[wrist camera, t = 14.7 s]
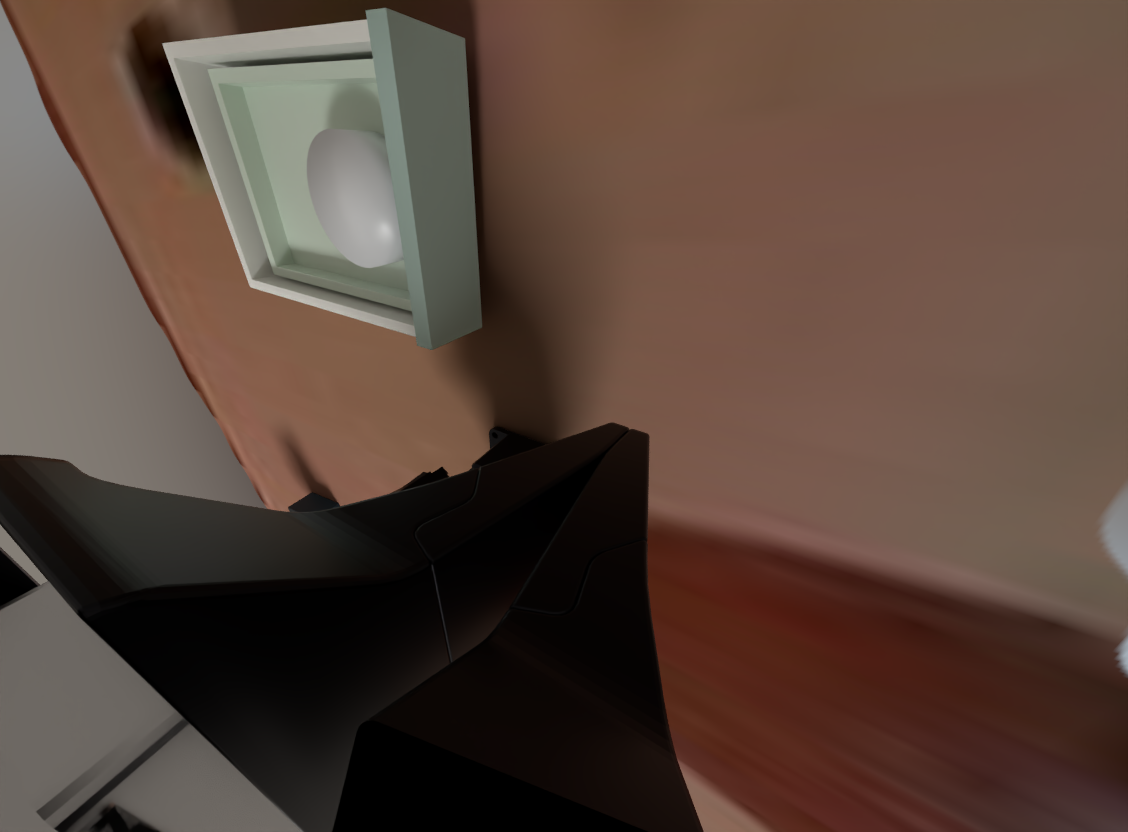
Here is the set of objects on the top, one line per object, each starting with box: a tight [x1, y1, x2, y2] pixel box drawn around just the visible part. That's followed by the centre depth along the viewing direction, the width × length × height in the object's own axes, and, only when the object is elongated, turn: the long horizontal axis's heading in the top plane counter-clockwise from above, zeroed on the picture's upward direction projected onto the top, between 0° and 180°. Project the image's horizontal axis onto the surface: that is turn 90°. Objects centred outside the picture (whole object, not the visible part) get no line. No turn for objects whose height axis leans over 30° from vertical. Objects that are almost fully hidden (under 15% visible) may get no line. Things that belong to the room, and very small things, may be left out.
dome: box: [307, 129, 404, 268], centre depth 20 cm, size 6×6×2 cm
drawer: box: [207, 8, 482, 350], centre depth 21 cm, size 12×16×4 cm
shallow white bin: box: [162, 19, 416, 337], centre depth 23 cm, size 12×16×4 cm
